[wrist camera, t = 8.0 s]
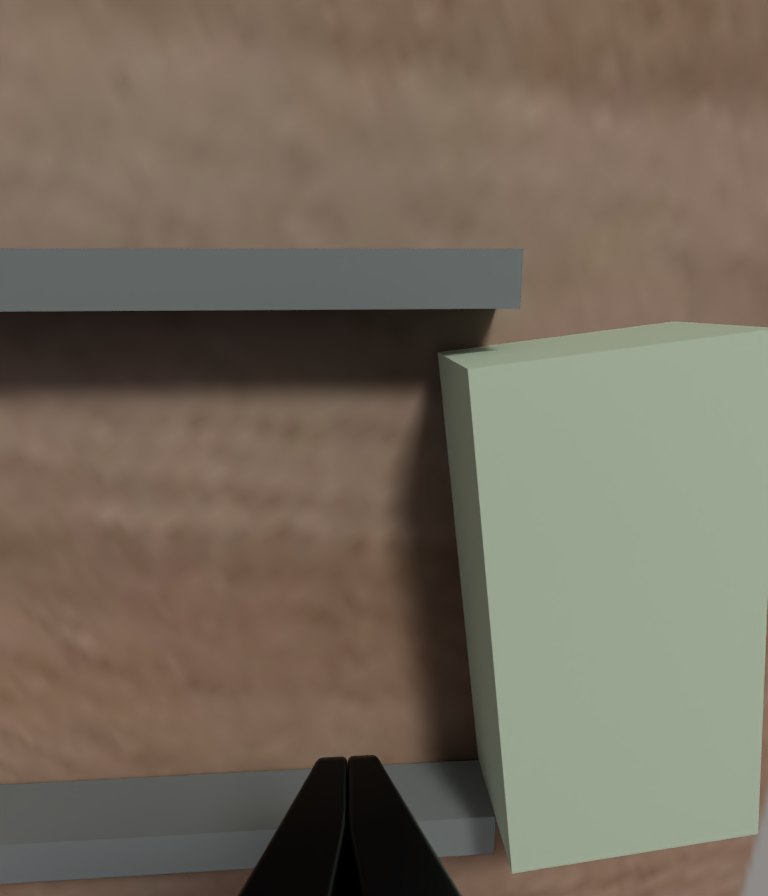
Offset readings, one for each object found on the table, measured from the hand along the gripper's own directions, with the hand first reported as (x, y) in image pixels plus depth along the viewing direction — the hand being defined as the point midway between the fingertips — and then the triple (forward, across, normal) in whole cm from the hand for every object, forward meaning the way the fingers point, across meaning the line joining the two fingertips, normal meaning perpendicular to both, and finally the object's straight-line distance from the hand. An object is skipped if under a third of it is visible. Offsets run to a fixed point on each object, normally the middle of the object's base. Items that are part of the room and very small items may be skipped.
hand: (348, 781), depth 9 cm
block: (+8, -6, 0) cm, 10 cm away
